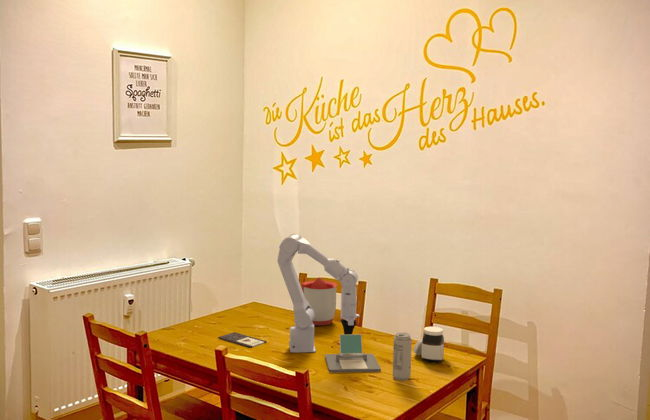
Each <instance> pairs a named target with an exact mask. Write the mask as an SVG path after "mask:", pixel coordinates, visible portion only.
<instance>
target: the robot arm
mask: <svg viewBox="0 0 650 420" xmlns="http://www.w3.org/2000/svg"><path fill="white" fill-rule="evenodd" d="M296 254H299V255H302V254H303V255H308V257H310V258H311V259H314V260H315V261H316V262H317V263H319V264H320V265H322V266H323V268H324V269H323V270H324V272H326V273H327V274H329V275H330V276H331V277H332V278H334V279H335V280H337V281H338V282H340V285H341V293H340V295H341V297H340V298H341V299H340V300H341V301H340V323H341V324H342V329H343V335H345V334H353V333H354V329H355V326H356V325H357V318H360V314H358V313H357V294H358V292H357V282H358V280H359V277H358V274H357V273H356V272H355V270H353V269H351V268H349V267H346V265H344V264H342V263H341V262H340V261H341V260H340V259H338V258H337V259H335V258H333V257H332V258H329V257H327V256H326V255H325V254H324V253H323V252H321V251H320V250H319V249H318V248H317V247H315V246H314V245H313V244H312V243H310V242H309V241H308V240H307V239H306V238H305V237H302V236H301V235H300V234H298V233H292V234H290V235H288V237H285V238H284V239H283V240H282V241H281V243H280V245H279V251H278V255H277V263H278V267H279V270H280V272H281V275H282V277H283V280H284V284H285V287H286V288H287V292H288V294H289V297H290V300H291V302H292V305H293V306H292V307H293V315H294V318H293V319H294V320H293V321H294V326H289V341H288V347H289V350H290V351H289V352H290V353H316V352H317V351H316V347H315V325H314V324H313V322H312V321H313V320H314V318H315V311H314V310H313V309H312V308H311V307H310V305H309V302H308V301H307V300H306V299H305V296H304V293H303V291H302V284H301V282H300V279H299V277H298V275H297V272H296V269H295V266H294V264H293V262H292V261H293V259H294V257H295V255H296Z"/></svg>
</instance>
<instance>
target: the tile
mask: <svg viewBox="0 0 650 420" xmlns="http://www.w3.org/2000/svg"><path fill="white" fill-rule="evenodd" d="M362 339H363V338H362V334H361V333H360V334H358V333H357V334H355V333H354V334H353V333H352V334H345V335H344V334H339V354H363V340H362Z"/></svg>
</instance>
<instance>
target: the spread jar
mask: <svg viewBox="0 0 650 420" xmlns="http://www.w3.org/2000/svg"><path fill="white" fill-rule="evenodd" d="M444 350H445V338H444V329H443V328H442V327H438V326H427V327H426V326H425V327H424V329H423V335H422V337H421V338H419V339H418V340H417V341H416V342H415V345H414V346H413V353H414V354H416V356H420V355H421V359H422V361H424V362H425V363H428V364H438V363H441V362H443V360H444V353H445V351H444Z"/></svg>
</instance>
